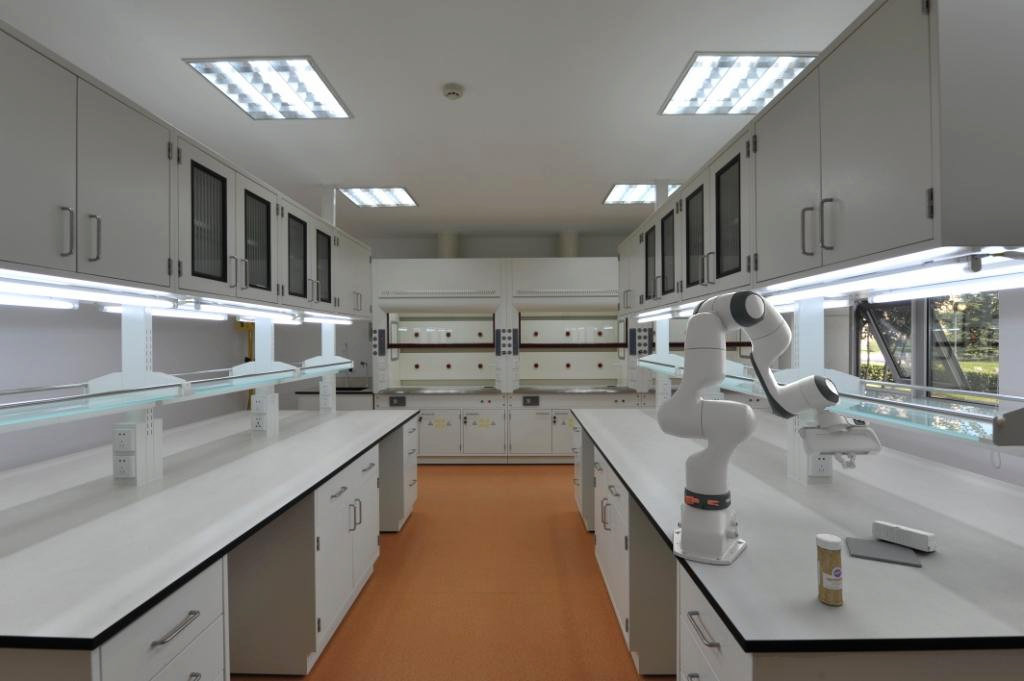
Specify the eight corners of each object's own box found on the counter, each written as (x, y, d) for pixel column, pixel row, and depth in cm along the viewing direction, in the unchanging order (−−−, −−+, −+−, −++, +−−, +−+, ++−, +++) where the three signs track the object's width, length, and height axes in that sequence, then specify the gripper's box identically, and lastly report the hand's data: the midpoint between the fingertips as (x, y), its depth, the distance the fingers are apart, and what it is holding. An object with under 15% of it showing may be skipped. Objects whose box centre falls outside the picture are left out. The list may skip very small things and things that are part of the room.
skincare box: (880, 520, 135) (936, 532, 125) (880, 536, 134) (936, 550, 124) (871, 521, 132) (928, 533, 122) (871, 538, 131) (928, 552, 121)
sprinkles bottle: (834, 608, 99) (832, 542, 99) (812, 598, 103) (810, 535, 103) (848, 603, 101) (846, 538, 101) (826, 593, 105) (824, 531, 105)
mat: (921, 567, 116) (921, 564, 116) (850, 556, 123) (850, 553, 123) (910, 548, 126) (910, 546, 126) (845, 538, 133) (845, 536, 133)
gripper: (800, 421, 149) (815, 464, 140) (873, 420, 146) (892, 463, 137) (794, 430, 154) (807, 472, 145) (864, 429, 151) (882, 472, 142)
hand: (849, 468), depth 141 cm, fingers closed
